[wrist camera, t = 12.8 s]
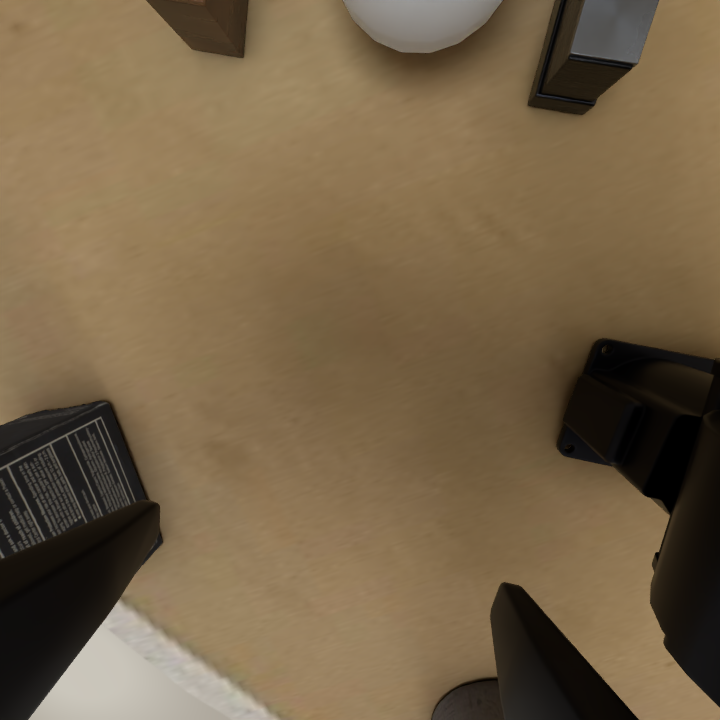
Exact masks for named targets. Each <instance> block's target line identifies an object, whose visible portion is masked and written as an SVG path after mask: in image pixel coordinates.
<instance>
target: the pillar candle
mask: <svg viewBox="0 0 720 720" xmlns="http://www.w3.org/2000/svg"><path fill="white" fill-rule="evenodd" d="M432 720H505V719H504V714H503V709H502V704H501V698H500V691H499V684H498V681H495V680H493V681H483V682H477V683H472V684H470V685H465V686H462V687H460V688H458V689H456V690H454V691H452V692H451V693H450V694H449V695H447V696H446V697H445V698H444V699H443V700H442V701H441V702H440V703H439V704H438V706H437V708H436V709H435V712H434V714H433V717H432Z"/></svg>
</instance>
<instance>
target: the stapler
mask: <svg viewBox="0 0 720 720" xmlns="http://www.w3.org/2000/svg"><path fill="white" fill-rule="evenodd" d="M658 2H659V0H556V1H555V5H554V8H553V12H552V16H551V19H550V23H549V27H548V31H547V34H546V38H545V42H544V45H543V49H542V53H541V57H540V60H539V64H538V68H537V71H536V75H535V79H534V82H533V86H532V90H531V94H530V97H529V101H528V105H529V106H534V107H540V108H546V109H552V110H558V111H564V112H570V113H576V114H582V115H583V114H585V113H586V112H587V111H589V110H590V109H591V108H592V107H593V106H594V105H595V103H596V100H597V98H598V97H599V96H600V95H601V94H603V93H604V92H605V91H606V90H607V89H609V88H610V87H611V86H612V85H613V84H615V83H616V82H617V81H618V80H619V79H621V78H622V77H623V76H624V75H625V74H627V73H628V72H629V71H630V70H631V69H632V68H633V67H635V66H636V65H637V64H638V62H639V59H640V56H641V53H642V50H643V47H644V44H645V41H646V38H647V35H648V32H649V29H650V26H651V23H652V20H653V17H654V14H655V11H656V8H657V5H658Z"/></svg>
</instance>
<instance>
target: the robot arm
mask: <svg viewBox="0 0 720 720" xmlns="http://www.w3.org/2000/svg"><path fill="white" fill-rule="evenodd" d="M605 345H608V350H607V351H606V352H604V353H603V352H602V348H603V347H604V346H605ZM563 421H564V422H565V423H564V425H563V428H562V431H561V433H560V436H559V439H558V442H557V449H558V450H559V451H560V453H561V454H562V455H564V456H566V457H570V458H575V459H580V460H584V461H589V462H594V463H598V464H603V465H608V466H613V467H614V468H615V469H616V470H617V471H618V472H619V473H621V474H622V475H623V476H624V477H625V478H626V479H627V480H628V481H629V482H630V483H631V484H632V485H634V486H635V487H636V488H637V489H638V490H639V491H640V492H641V493H642V494H643V495H645V496H647V497H650V498H651V499H652V500H653V501H654V502H656V503H657V504H658V505H659V506H660V507H661V508H662V509H663V510H664V511H665V512H667V513H668V514H669V515H670V518H669V522H668V525H667V528H666V531H665V534H664V538H663V541H662V544H661V547H660V551H659V552H656V553H655V555H654V559H653V562H652V567H653V570H654V575H653V578H652V582H651V592H650V604H651V606H652V608H653V611H654V613H655V615H656V618H657V620H658V622H659V624H660V627H661V629H662V631H663V632H664V634H665V637H664V642H663V643H664V645H665V648H666V649H667V650H668V652H669V653H670V654H671V655H672V657H673V658H674V659H675V660H676V662H677V663H678V664H679V666H680V667H681V668H682V669H683V671H684V672H685V673H686V674H687V675H688V676H689V677H690V678H691V679H692V680H693V681H694V682H695V683H696V684H697V685H698V686H699V687H700V688H701V689H702V690H703V691H704V692H705V693H706V694H707V695H708V696H709V697H710V698H711V699H712V700H713V701H714V702H715V703H716V704H717V705H718V706H719V707H720V358H715V360H714V359H709V358H704V357H699V356H694V355H689V354H684V353H679V352H673V351H668V350H663V349H658V348H653V347H648V346H643V345H638V344H633V343H628V342H623V341H618V340H612V339H607V338H602V339H599V340H598V341H596V342H595V343H594V345H593V347H592V350H591V353H590V355H589V358H588V361H587V363H586V366H585V369H584V371H583V374H582V375H581V376H580V377H579V378H578V380H577V383H576V385H575V388H574V391H573V393H572V396H571V399H570V402H569V404H568V407H567V410H566V412H565V415H564V418H563ZM568 444H571V447H570V448H568V449H565V446H566V445H568ZM159 523H160V506H159V504H158V503H156V502H152V501H147V500H140V501H137V502H134V503H132V504H130V505H127V506H125V507H123V508H120V509H118V510H116V511H113V512H111V513H108V514H106V515H104V516H101V517H99V518H97V519H94V520H92V521H90V522H87V523H85V524H82V525H80V526H78V527H75V528H73V529H71V530H68V531H66V532H64V533H61V534H59V535H56V536H54V537H52V538H49V539H47V540H45V541H42V542H40V543H37V544H35V545H33V546H30V547H28V548H26V549H23V550H21V551H19V552H16V553H14V554H11V555H9V556H7V557H4V558H2V559H0V720H28V719H29V718H30V717H31V715H32V714H33V713H34V711H35V710H36V709H37V707H38V706H39V705H40V703H41V702H42V701H43V700H44V698H45V697H46V696H47V694H48V693H49V692H50V690H51V689H52V688H53V687H54V685H55V684H56V683H57V681H58V680H59V679H60V677H61V676H62V675H63V673H64V672H65V671H66V669H67V668H68V667H69V665H70V664H71V663H72V662H73V660H74V659H75V658H76V656H77V655H78V654H79V652H80V651H81V650H82V648H83V647H84V646H85V644H86V643H87V642H88V641H89V639H90V638H91V637H92V635H93V634H94V633H95V631H96V630H97V629H98V628H99V626H100V625H101V624H102V622H103V621H104V620H105V618H106V617H107V616H108V614H109V613H110V611H111V610H112V609H113V607H114V606H115V604H116V603H117V601H118V600H119V598H120V597H121V595H122V594H123V592H124V591H125V589H126V587H127V586H128V584H129V583H130V581H131V580H132V578H133V576H134V575H135V573H136V572H137V570H138V568H139V567H140V565H141V564H142V562H143V561H144V559H145V557H146V556H147V554H148V553H149V551H150V550H151V548H152V546H153V545H154V543H155V541H156V539H157V537H158V534H159ZM490 620H491V628H492V636H493V644H494V652H495V660H496V668H497V676H498V684H499V691H500V698H501V704H502V709H503V714H504V719H505V720H639V719H638V718H637V717H636V716H635V715H634V714H633V713H632V711H631V710H630V709H629V708H628V707H627V706H626V705H625V703H624V702H623V701H622V700H621V699H620V698H619V697H618V696H617V694H616V693H615V692H614V691H613V690H612V689H611V688H610V686H609V685H608V684H607V683H606V682H605V681H604V680H603V679H602V677H601V676H600V675H599V674H598V673H597V672H596V671H595V669H594V668H593V667H592V666H591V665H590V664H589V663H588V661H587V660H586V659H585V658H584V657H583V656H582V655H581V654H580V652H579V651H578V650H577V649H576V648H575V647H574V646H573V644H572V643H571V642H570V641H569V640H568V639H567V638H566V637H565V635H564V634H563V633H562V632H561V631H560V630H559V629H558V627H557V626H556V625H555V624H554V623H553V622H552V621H551V619H550V618H549V617H548V616H547V615H546V614H545V613H544V612H543V610H542V609H541V608H540V607H539V606H538V605H537V604H536V602H535V601H534V600H533V599H532V598H531V597H530V596H529V595H528V593H527V592H526V591H525V590H524V589H523V588H522V587H521V586H519V585H515V584H511V583H506V582H503V583H501V585H500V586H499V589H498V592H497V594H496V597H495V600H494V602H493V605H492V608H491V614H490Z"/></svg>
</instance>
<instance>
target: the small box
mask: <svg viewBox="0 0 720 720" xmlns="http://www.w3.org/2000/svg"><path fill="white" fill-rule="evenodd" d="M140 500H146V497H145V494H144V492H143V490H142V487H141V484H140V482H139V479H138V477H137V474H136V471H135V469H134V466H133V464H132V461H131V459H130V456H129V454H128V451H127V448H126V446H125V443H124V441H123V438H122V435H121V433H120V430H119V428H118V425H117V422H116V420H115V417H114V415H113V412H112V410H111V407H110V405H109V403H107V402H104V401H98V402H94V403H91V404H88V405H85V404H82V405H81V406H75V407H69V408H64V409H57V410H51V411H49V410H44V411H40V412H36V413H33V414H28V415H25V416H22V417H20V418H18V419H16V420H14V421H11V422H8V423H6V424H4V425H1V426H0V559H2V558H4V557H7V556H9V555H11V554H14V553H16V552H19V551H21V550H23V549H26V548H28V547H30V546H33V545H35V544H37V543H40V542H42V541H45V540H47V539H49V538H52V537H54V536H56V535H59V534H61V533H64V532H66V531H68V530H71V529H73V528H75V527H78V526H80V525H82V524H85V523H87V522H90V521H92V520H94V519H97V518H99V517H101V516H104V515H106V514H108V513H111V512H113V511H116V510H118V509H120V508H123V507H125V506H127V505H130V504H132V503H134V502H137V501H140ZM162 543H163V542H162V539H161V536H160V533H159V534H158V537H157V539H156V541H155V543H154V545H153V546H152V548H151V550H150V551H149V553H148V554H147V556H146V557H145V559H144V561H143V562H142V564H141V565H140V567H141V566H142V565H143V564H144V563H145V562H146V561H147V560H148V559H149V558H150V556H151V555H152V554H153V553H154V551H156V550H157V549H158V548H159V546H160V545H161V544H162ZM140 567H139V568H138V570H139V569H140ZM138 570H137V571H138ZM135 574H136V573H135Z"/></svg>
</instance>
